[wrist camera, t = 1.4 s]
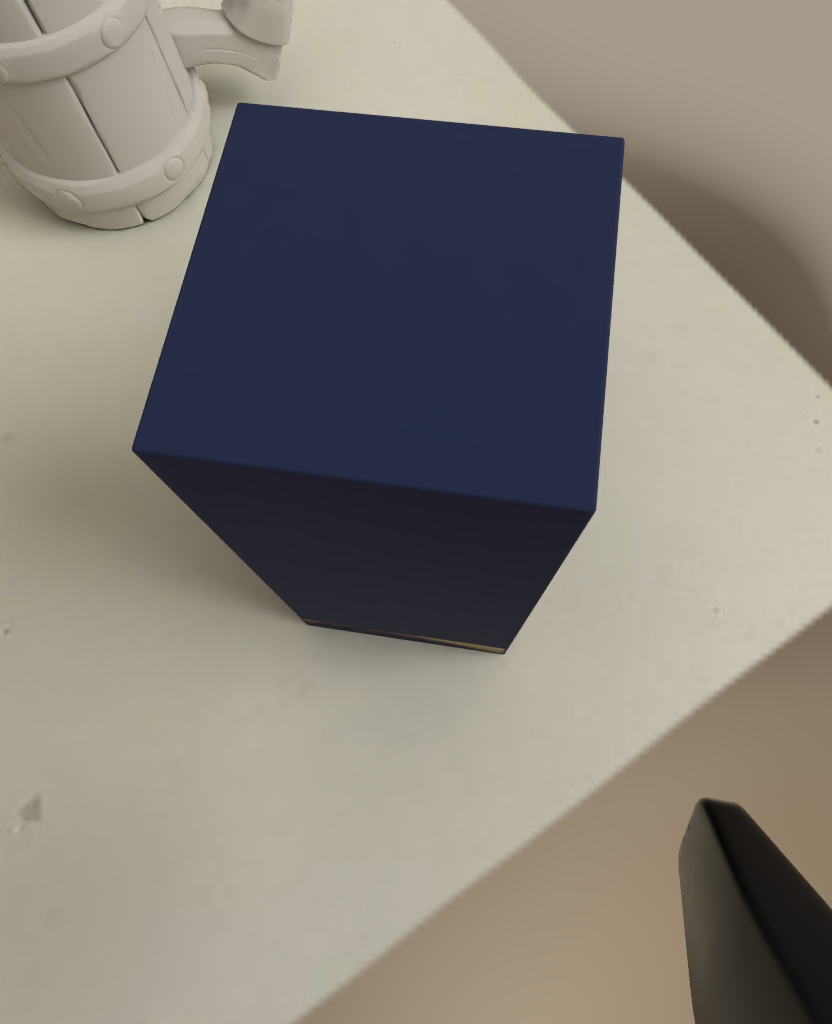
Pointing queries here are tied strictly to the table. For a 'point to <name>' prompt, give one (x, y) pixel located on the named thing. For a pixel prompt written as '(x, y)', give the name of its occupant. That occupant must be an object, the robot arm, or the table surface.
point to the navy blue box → (394, 365)
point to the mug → (121, 98)
